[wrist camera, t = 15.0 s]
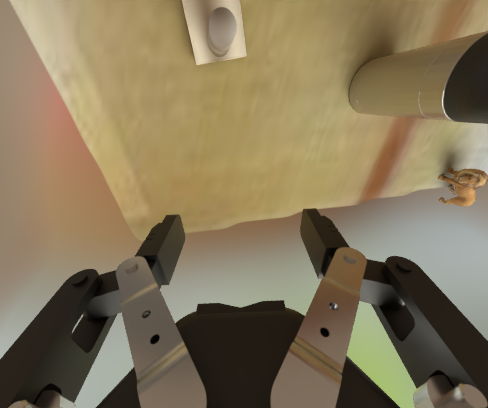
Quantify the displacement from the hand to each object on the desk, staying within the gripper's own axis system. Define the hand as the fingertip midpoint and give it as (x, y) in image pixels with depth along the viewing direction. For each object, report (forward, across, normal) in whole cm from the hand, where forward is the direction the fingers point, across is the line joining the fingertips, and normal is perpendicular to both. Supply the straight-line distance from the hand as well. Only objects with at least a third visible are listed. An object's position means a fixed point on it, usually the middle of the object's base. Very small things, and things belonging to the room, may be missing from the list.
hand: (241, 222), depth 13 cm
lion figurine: (+37, -54, +17) cm, 68 cm away
